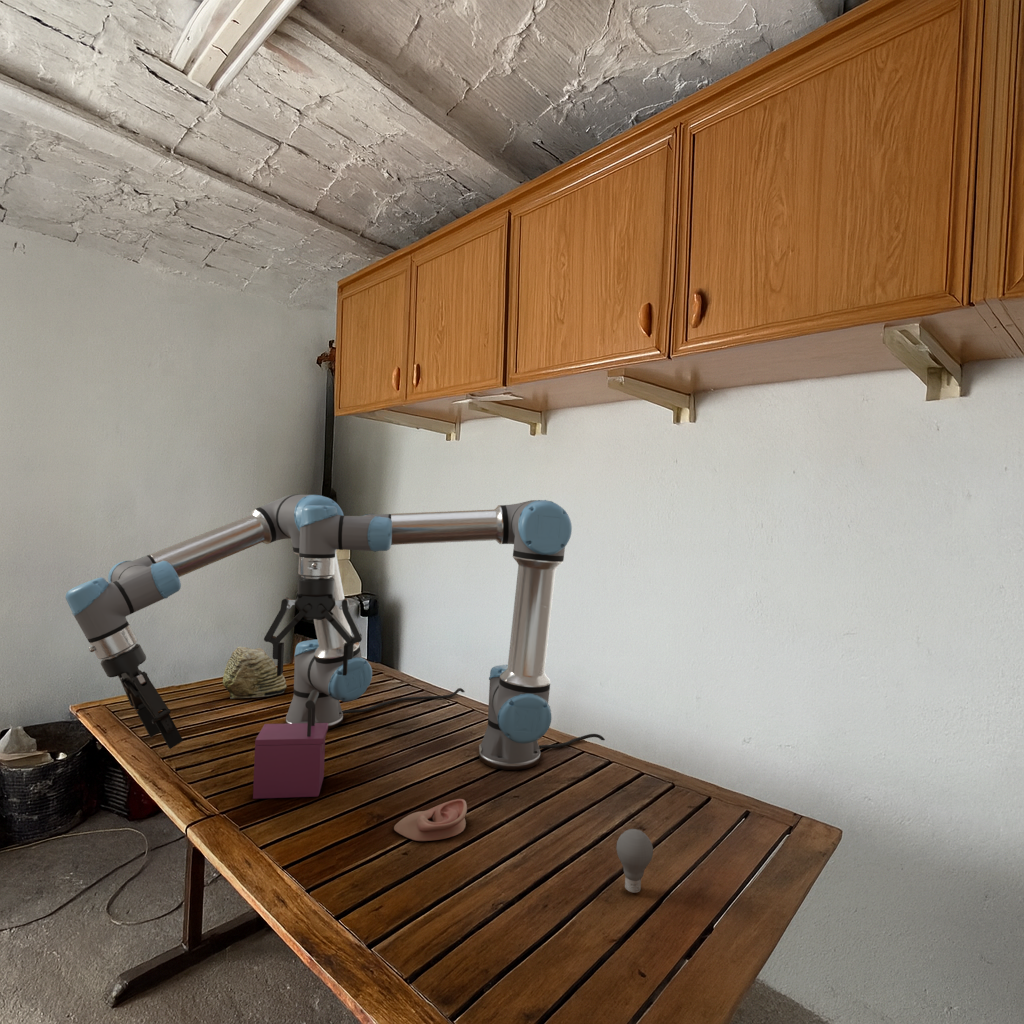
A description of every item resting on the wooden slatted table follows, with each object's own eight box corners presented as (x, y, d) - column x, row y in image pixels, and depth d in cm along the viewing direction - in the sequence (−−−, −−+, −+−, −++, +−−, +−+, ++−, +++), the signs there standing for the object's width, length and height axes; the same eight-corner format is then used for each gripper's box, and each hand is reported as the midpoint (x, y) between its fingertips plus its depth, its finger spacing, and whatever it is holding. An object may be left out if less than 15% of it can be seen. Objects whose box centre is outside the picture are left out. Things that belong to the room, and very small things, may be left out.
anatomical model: (388, 815, 119) (410, 788, 130) (387, 836, 119) (409, 808, 130) (456, 826, 116) (472, 797, 127) (455, 847, 116) (471, 817, 128)
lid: (328, 728, 143) (329, 688, 143) (323, 744, 134) (324, 701, 134) (264, 729, 141) (266, 688, 140) (254, 745, 131) (256, 702, 131)
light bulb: (610, 879, 108) (613, 822, 108) (644, 879, 109) (647, 822, 109) (619, 902, 102) (622, 840, 102) (655, 901, 103) (658, 840, 103)
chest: (323, 777, 143) (325, 728, 143) (318, 796, 134) (320, 744, 134) (262, 779, 141) (264, 729, 141) (252, 798, 132) (254, 745, 131)
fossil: (218, 695, 195) (220, 647, 195) (278, 685, 208) (279, 640, 207) (228, 703, 189) (230, 653, 188) (289, 692, 201) (290, 645, 201)
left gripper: (86, 656, 136) (132, 739, 140) (114, 667, 118) (166, 762, 123) (122, 638, 141) (166, 718, 145) (155, 646, 123) (203, 737, 128)
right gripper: (251, 577, 131) (248, 679, 132) (374, 579, 136) (370, 678, 136) (259, 573, 139) (256, 669, 139) (376, 575, 143) (372, 669, 143)
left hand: (166, 738), depth 134 cm, fingers open, 13 cm apart
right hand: (312, 674), depth 137 cm, fingers open, 13 cm apart
